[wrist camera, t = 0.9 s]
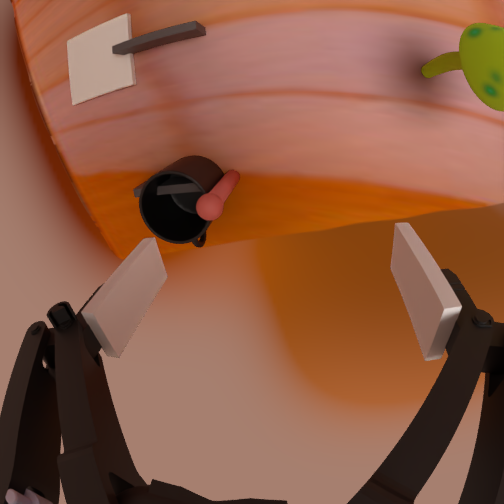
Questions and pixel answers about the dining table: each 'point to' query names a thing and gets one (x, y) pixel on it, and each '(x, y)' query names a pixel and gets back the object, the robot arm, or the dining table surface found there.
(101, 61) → the plate
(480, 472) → the robot arm
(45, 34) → the dining table surface
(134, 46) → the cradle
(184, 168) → the mug
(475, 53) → the mushroom
